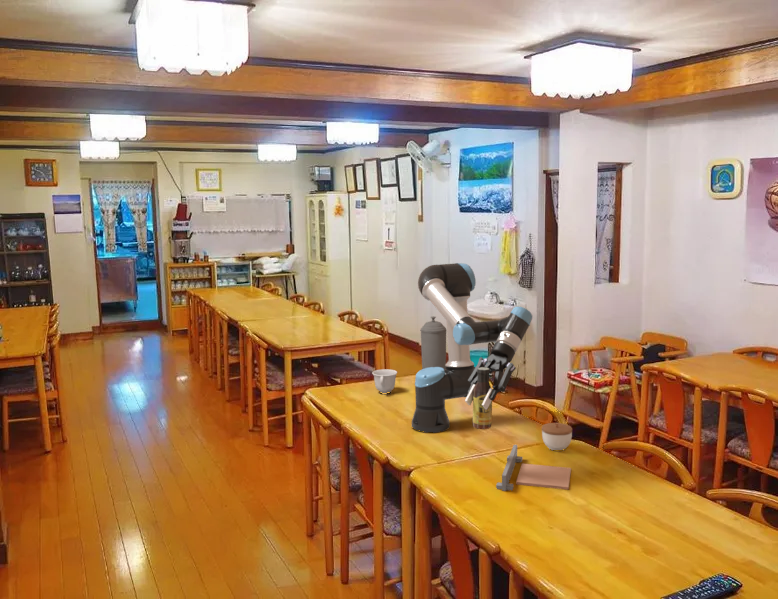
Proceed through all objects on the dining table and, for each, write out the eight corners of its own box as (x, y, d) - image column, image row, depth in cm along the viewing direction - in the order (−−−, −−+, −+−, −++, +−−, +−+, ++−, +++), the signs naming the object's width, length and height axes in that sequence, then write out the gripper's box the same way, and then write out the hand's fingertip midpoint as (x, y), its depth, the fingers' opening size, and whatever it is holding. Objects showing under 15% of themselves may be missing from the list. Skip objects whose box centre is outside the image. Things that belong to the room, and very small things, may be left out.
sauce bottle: (479, 431, 220) (479, 371, 217) (468, 426, 226) (468, 367, 223) (496, 428, 223) (496, 369, 220) (485, 422, 229) (484, 365, 226)
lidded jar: (574, 445, 249) (574, 420, 247) (569, 455, 239) (569, 429, 238) (544, 441, 253) (545, 417, 252) (538, 451, 244) (538, 425, 242)
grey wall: (495, 490, 211) (495, 474, 211) (508, 457, 238) (508, 444, 237) (512, 491, 210) (512, 476, 209) (522, 459, 236) (522, 445, 235)
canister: (448, 384, 336) (447, 314, 331) (445, 391, 324) (445, 318, 319) (422, 383, 338) (421, 314, 334) (419, 390, 326) (418, 318, 321)
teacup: (369, 397, 316) (368, 376, 315) (375, 389, 331) (374, 368, 329) (394, 398, 314) (394, 377, 313) (399, 389, 329) (399, 369, 327)
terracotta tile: (516, 484, 215) (516, 481, 215) (522, 465, 230) (522, 463, 230) (568, 489, 210) (568, 487, 210) (570, 470, 226) (571, 468, 225)
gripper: (477, 337, 234) (447, 393, 225) (525, 344, 221) (495, 404, 212) (487, 349, 239) (458, 405, 230) (534, 357, 225) (504, 417, 216)
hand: (475, 405), depth 221 cm, fingers closed on sauce bottle, 6 cm apart
